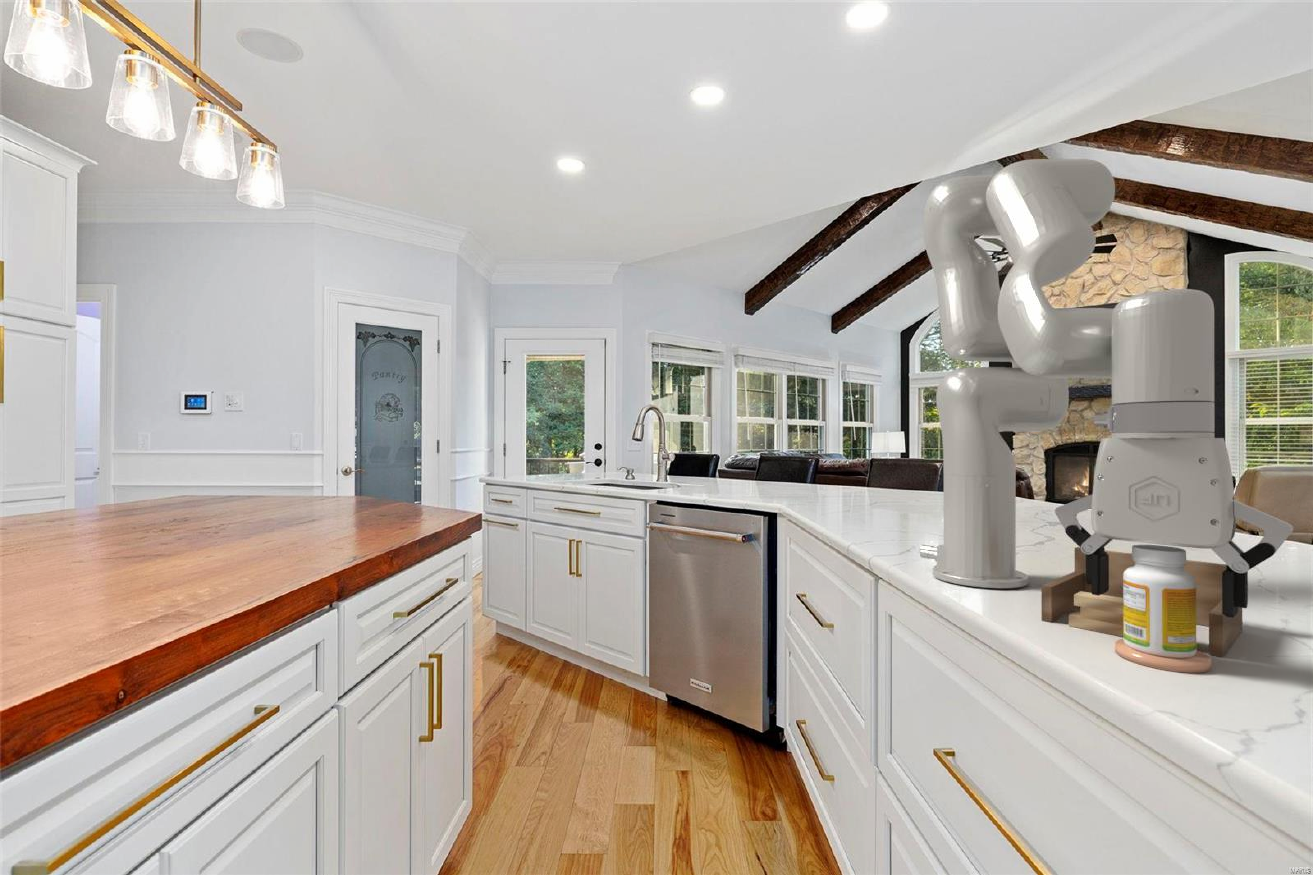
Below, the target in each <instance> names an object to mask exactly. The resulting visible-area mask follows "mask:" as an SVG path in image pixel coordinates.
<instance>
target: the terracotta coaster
mask: <svg viewBox="0 0 1313 875" xmlns="http://www.w3.org/2000/svg"><path fill="white" fill-rule="evenodd" d="M1114 648H1115V649H1114V652H1115V653H1116V655H1118V656H1119V657H1121V658H1123V659H1124V660H1127V661H1128V662H1132V663H1134V664H1137V665H1142V666H1144V667H1148V668H1153V669H1157V670H1161V671H1162V670H1163V671H1168V672H1173V673H1174V672H1177V673H1184V674H1185V673H1187V674H1200V673H1201V674H1202V673H1207V672H1210V671H1211V670H1212V658H1211V656H1210V655H1208V654H1206V653H1205V652H1202V651H1201V650H1198V649H1196V654H1195V655H1194V656H1192V657H1189V658H1172V657H1163V656H1157V655H1151V654H1147V653H1143V652H1140V651H1137V650H1135V649H1132V648H1130V647H1129V646H1127V645H1126V644H1125V643H1124V639H1123V638H1120V639H1118V640H1116V641H1115V643H1114Z"/></svg>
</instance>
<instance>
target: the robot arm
mask: <svg viewBox="0 0 1313 875" xmlns="http://www.w3.org/2000/svg"><path fill="white" fill-rule="evenodd" d="M1115 193H1116V184H1115V179H1114V176H1113V173H1112V172H1111V171H1110V169H1109V168H1108V167H1107V166H1106V165H1104V164H1103V163H1102V162H1099V161H1097V160H1094V159H1087V158H1085V159H1083V158H1082V159H1081V158H1078V159H1077V158H1074V159H1073V158H1072V159H1070V158H1069V159H1068V158H1065V159H1064V158H1061V159H1060V158H1054V159H1053V158H1051V159H1050V158H1048V159H1047V158H1034V159H1033V158H1032V159H1024V160H1019V161H1016V162H1013V163H1011V164H1009V165H1007V166H1005V167H1003V168H1002V169H1000V170H999V171H997V173H996V174H981V175H980V174H976V175H965V176H964V175H963V176H958V177H953V178H949V179H947V180H944V181H942V182H941V183H939V184H937V185H936V186H935V188H933V189H932V190H931V192H930V194H929V196H928V198H927V200H926V203H925V207H924V212H923V216H922V217H923V218H922V234H923V242H924V245H925V250H926V253H927V257H928V259H929V262H930V264H931V267H932V269H933V273H934V277H935V281H936V287H937V288H936V290H937V291H936V292H937V302H938V303H937V304H938V312H939V323H940V333H941V340H942V345H943V346H942V347H943V349H944V351H945V353H946V354H947V356H948V357H949V358H951V359H953V360H957V361H962V362H996V363H997V362H1002V363H1003V362H1010V363H1011V364H1012V366H1013V367H1005V366H997V367H996V366H976V367H975V366H974V367H972V366H971V367H965V368H964V367H963V368H959V369H955V370H952V372H949V373H948V374H947V375H945V376H943V378H942V379H941V380H940V382H939V384H938V386H937V389H936V396H935V397H936V398H935V400H936V401H935V402H936V409H937V414H938V419H939V423H940V430H941V437H942V438H941V439H942V451H943V452H942V455H943V456H942V458H943V459H942V460H943V461H942V462H943V464H942V465H943V472H942V473H943V544H939V545H937V546H934V545H929V544H921V545H920V547H919V556H920V558H922V559H928V560H929V559H931V560H934V561H935V562H936V565H934V566H933V567H932V568H931V569H932V575H933V577H935V579H938V580H940V581H943V582H944V581H945V582H947V583H951V584H955V585H962V586H968V587H973V588H974V587H975V588H983V589H984V588H986V589H1016V588H1017V589H1018V588H1023V587H1025V586H1027V585H1028V584H1029V576H1028V574H1026V573H1024V572H1022V571H1021V570H1017V568H1016V566H1017V565H1016V562H1017V559H1016V541H1017V540H1016V536H1017V533H1016V532H1017V528H1016V524H1017V523H1016V522H1017V521H1016V520H1017V519H1016V510H1017V508H1016V504H1017V503H1016V502H1017V500H1016V495H1017V494H1016V489H1017V488H1016V486H1017V485H1016V481H1017V480H1016V479H1017V478H1016V470H1017V469H1016V467H1017V466H1016V461H1015V457H1014V454H1013V452H1012V450H1011V449H1010V446H1008V444H1007V442H1006V441H1005V440H1004V438H1003V437H1002V435H1001V433H1002V432H1042V431H1043V432H1044V431H1049V430H1052V429H1054V428H1056V427H1057V426H1058V425H1060V424H1061V423H1062V421H1063V420H1064V419H1065V416H1066V415H1067V412H1068V408H1069V404H1070V403H1069V398H1070V396H1069V394H1070V393H1069V392H1070V391H1069V382H1068V380H1069V379H1095V380H1111V405H1109V409H1107V411H1103V412H1097V413H1094V417H1093V421H1094V422H1093V423H1094V426H1095V427H1104V428H1107V430H1109V432H1110V433H1111V437H1107V438H1106V437H1105V438H1103V437H1102V438H1101V439H1100V443H1099V446H1098V451H1097V456H1096V462H1095V469H1094V475H1093V476H1094V478H1093V485H1092V494H1089V495H1086V496H1084V497H1082V498H1078V499H1076V500H1073V501H1071V502H1069V503H1066V504H1063V505H1060V506H1058V507H1056V508H1055V510H1054V513H1055V515H1056V517H1057V519H1058V520H1059V523H1060V524H1061V526H1062V527H1063V529H1064V532H1065V534H1066V535H1067V536H1068V537H1069V538H1070V539H1071V540H1072V541H1073V542H1074V543H1075V544H1076V545H1077V547H1080V548H1081V551H1082V552H1083V553H1085V554H1086V583H1087V584H1091V585H1092V595H1098V596H1099V595H1102V594H1103V593H1105V592H1107V591H1108V590H1109V555H1108V554H1107V552H1105V550H1106V549H1105V547H1106V546H1107V545H1108V544H1110V543H1111V542H1112V541H1113V540H1116V541H1123V542H1124V541H1125V542H1133V543H1140V544H1141V543H1143V544H1144V543H1145V544H1150V545H1160V546H1169V547H1179V548H1180V547H1181V548H1192V549H1204V550H1205V549H1208V550H1209V549H1211V550H1212V551H1213V553H1215V554H1216V555H1217V556H1218V557H1219V558H1220V559H1221V560H1222V561H1223V563H1225V564H1226V570H1224V571H1223V572H1222V614H1223V615H1225V616H1226V617H1231V618H1234V617H1235V615H1236V614H1237V613H1238V607H1240V608H1242V609H1247V608H1248V604H1249V602H1248V601H1249V598H1248V597H1249V594H1248V593H1249V577H1248V576H1249V574H1248V573H1249V572H1248V571H1250V570H1252V569H1253V568H1255V567H1256V566H1259V564H1261V563H1263V562H1264V561H1266V560H1268V559H1269V558H1272V557H1273V556H1274V555H1275V554H1276V552H1277V551H1278V550H1279V549H1280V548H1281V546H1282V545H1283V544H1284V543H1285V541H1286V540H1287V539H1288V538H1289V536H1290V535H1291V534H1292V533H1293V531H1294V527H1293V525H1292V524H1290V523H1289V522H1287V521H1285V520H1282V519H1279V518H1277V517H1275V516H1273V515H1271V514H1268V513H1266V512H1263V511H1261V510H1260V509H1257V508H1255V507H1252V506H1250V505H1247V504H1245V503H1243V502H1241V501H1238V500H1236V499H1235V489H1234V488H1235V487H1234V482H1233V481H1234V480H1233V472H1232V468H1231V467H1232V466H1231V460H1230V457H1229V452H1228V451H1229V450H1228V449H1227V444H1226V442H1225V438H1224V437H1215V307H1214V301H1213V299H1212V298H1211V296H1210V295H1209V294H1208V293H1206V292H1205V291H1203V290H1200V289H1192V288H1174V289H1163V290H1162V289H1161V290H1155V291H1149V292H1144V293H1139V294H1135V295H1132V296H1129V297H1127V298H1124V299H1122V300H1120V301H1119V302H1118V303H1116V305H1115V307H1114V308H1105V307H1061V308H1060V307H1057V308H1056V307H1053V306H1052V305H1051V304H1050V302H1049V300H1048V298H1047V297H1046V295H1045V293H1044V291H1043V289H1042V288H1044V287H1045V286H1046V287H1047V286H1048V285H1050V284H1053V283H1056V282H1058V281H1060V280H1062V279H1064V278H1066V277H1068V276H1070V275H1071V274H1073V273H1074V272H1076V271H1077V270H1079V269H1080V268H1081V267H1083V265H1084V264H1085V263H1086V262H1087V261H1088V260H1089V258H1090V257H1091V256H1092V254H1093V252H1094V250H1095V247H1096V242H1097V241H1096V240H1097V239H1096V238H1097V237H1096V233H1095V232H1094V229H1093V228H1092V226H1094V225H1096V224H1097V223H1099V222H1100V221H1101V220H1102V219H1103V218H1104V217H1105V216H1106V214H1108V212H1109V210H1110V208H1111V207H1112V205H1113V202H1114V199H1115ZM976 236H984V237H985V236H986V237H987V236H988V237H991V236H992V237H994V236H995V237H999V236H1000V238H1001V240H1002V242H1003V244H1004V247H1005V248H1006V251H1007V253H1008V256H1009V257H1010V259H1011V262H1012V263H1013V265H1012V267H1011V268H1010V269H1009V271H1008V272H1007V274H1006V276H1005V278H1004V280H1003V282H1002V286H1001V287H1000V282H999V281H1000V280H999V273H998V267H997V265H996V263H995V262H994V261H993V259H992V258H991V256H990V254H989V253H988V252H987V251H986V250H985V249H984V248H983V246H981V245H980V244H979V243H978V242H977V241H976V240H975V237H976ZM1088 510H1090V511H1091V513H1090V514H1091V515H1090V519H1091V520H1090V521H1091V522H1090V523H1091V527H1092V530H1093V532H1094V533H1093V534H1090V533H1089V531H1087V530H1086V529H1085V527H1083V526H1082V525H1081V524H1080V522H1079V520H1078V518H1077V516H1078V514H1079V513H1082V512H1086V511H1088ZM1236 519H1238V520H1241V521H1243V522H1245V523H1248V524H1250V525H1252V526H1254V527H1257V528H1259V529H1260V530H1262V532H1263V533H1264V535H1263V537H1262V538H1261V540H1260V541H1259V542H1258V544H1256V545H1254V546H1253V547H1251V548H1250V549H1248V550H1246V551H1244V550H1243V549H1241V547H1239V545H1238V544H1236V542H1235V541H1233V539H1234V538H1235V535H1236V525H1237V523H1236V522H1237V521H1236Z"/></svg>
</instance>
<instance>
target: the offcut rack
mask: <svg viewBox="0 0 1313 875" xmlns="http://www.w3.org/2000/svg"><path fill="white" fill-rule="evenodd" d="M1105 552H1107V554H1108V555H1109V590H1108V591H1107V592H1105V593H1103V594H1102V595H1099V596H1098V595H1092V585H1091V584H1087V583H1086V554H1085V553H1083V552H1082V551H1081V548H1080V547H1079V546H1076V547H1074V571H1072V572H1070V573H1068V574H1065V575H1063V576H1061V577H1059V578H1056V579H1054V580H1051V581H1049V582H1047V583H1045V584H1042V585H1041V621H1043V622H1048V623H1053V622H1054V621H1056V620H1058V619H1060V618H1062V617H1063V616H1066V615H1068V614H1069V613H1070V612H1072V613H1070V614H1069V615H1068V626H1069V627H1073V628H1078V629H1082V630H1086V631H1091V632H1092V631H1093V632H1097V633H1101V634H1102V633H1103V634H1107V635H1112V636H1116V637H1122V638H1123V573H1124V571H1125V570H1126V569H1127V568H1129V567H1132V566H1134V565H1135V561H1133V560H1132V552H1122V551H1121V552H1120V551H1113V550H1106V549H1105ZM1224 570H1226V563H1225V564H1224V563H1215V562H1210V561H1209V562H1206V561H1202V560H1200V561H1199V560H1191V559H1186V565H1185V566H1183V571H1184V572H1186V573H1188V574H1190V575H1191V576H1193V578H1194V579H1195V582H1196V625H1200V626H1205V627H1208V654H1209V656H1216V657H1221V658H1224V657H1225V655H1226V654H1227V653H1228V651H1229V650H1230V649H1231V647H1232V646H1233V644H1234V643H1235V641H1236V640H1237V638H1238V637H1239V635H1240V634H1241V633H1242V632H1243V608H1240V607H1238V613H1237V614H1236V615H1235V617H1234V618H1231V617H1226V616H1225V615H1223V614H1222V572H1223V571H1224ZM1078 608H1079V611H1074V610H1076V609H1078ZM1073 611H1074V612H1073Z"/></svg>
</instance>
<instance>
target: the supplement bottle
mask: <svg viewBox="0 0 1313 875" xmlns="http://www.w3.org/2000/svg"><path fill="white" fill-rule="evenodd" d="M1131 553H1132V560H1133V561H1135V565H1134V566H1132V567H1129V568H1127V569H1126V570H1125V571H1124V573H1123V637H1122V639H1124V643H1125V644H1126V645H1127V646H1129V647H1130V648H1132V649H1135V650H1137V651H1140V652H1143V653H1147V654H1151V655H1157V656H1163V657H1172V658H1189V657H1192V656H1194V655H1195V654H1196V650H1197V624H1196V582H1195V579H1194V578H1193V576H1191V575H1190V574H1188V573H1186V572H1184V571H1183V566H1185V565H1186V560H1187V552H1186V550H1185V549H1183V548H1180V547H1177V546H1170V545H1160V544H1133V545H1132V546H1131Z"/></svg>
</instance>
